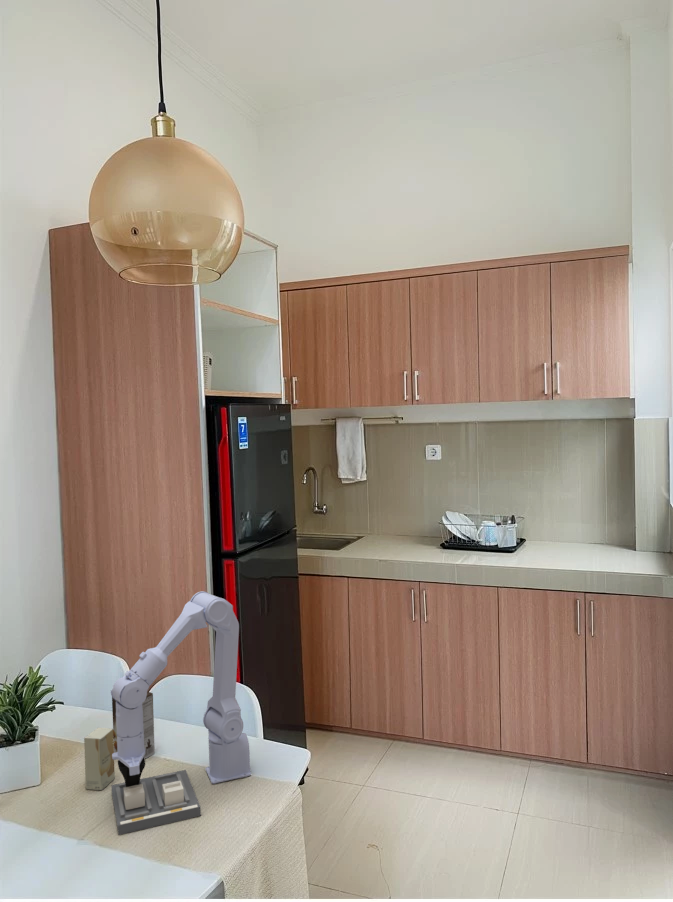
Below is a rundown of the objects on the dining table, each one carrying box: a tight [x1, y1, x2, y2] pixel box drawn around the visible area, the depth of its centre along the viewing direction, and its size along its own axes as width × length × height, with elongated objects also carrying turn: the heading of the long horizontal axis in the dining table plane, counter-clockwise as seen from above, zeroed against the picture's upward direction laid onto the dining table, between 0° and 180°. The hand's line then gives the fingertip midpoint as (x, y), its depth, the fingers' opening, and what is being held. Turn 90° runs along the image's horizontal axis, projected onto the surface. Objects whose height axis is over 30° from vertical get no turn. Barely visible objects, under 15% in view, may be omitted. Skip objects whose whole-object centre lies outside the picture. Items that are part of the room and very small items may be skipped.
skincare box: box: [83, 727, 116, 791], centre depth 167 cm, size 6×4×12 cm
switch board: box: [110, 769, 202, 836], centre depth 157 cm, size 17×18×3 cm
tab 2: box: [162, 781, 184, 807], centre depth 155 cm, size 4×4×4 cm
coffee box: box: [111, 691, 156, 760], centre depth 182 cm, size 9×6×16 cm
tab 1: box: [124, 784, 145, 810], centre depth 154 cm, size 4×4×4 cm
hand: (132, 792), depth 157 cm, fingers closed
